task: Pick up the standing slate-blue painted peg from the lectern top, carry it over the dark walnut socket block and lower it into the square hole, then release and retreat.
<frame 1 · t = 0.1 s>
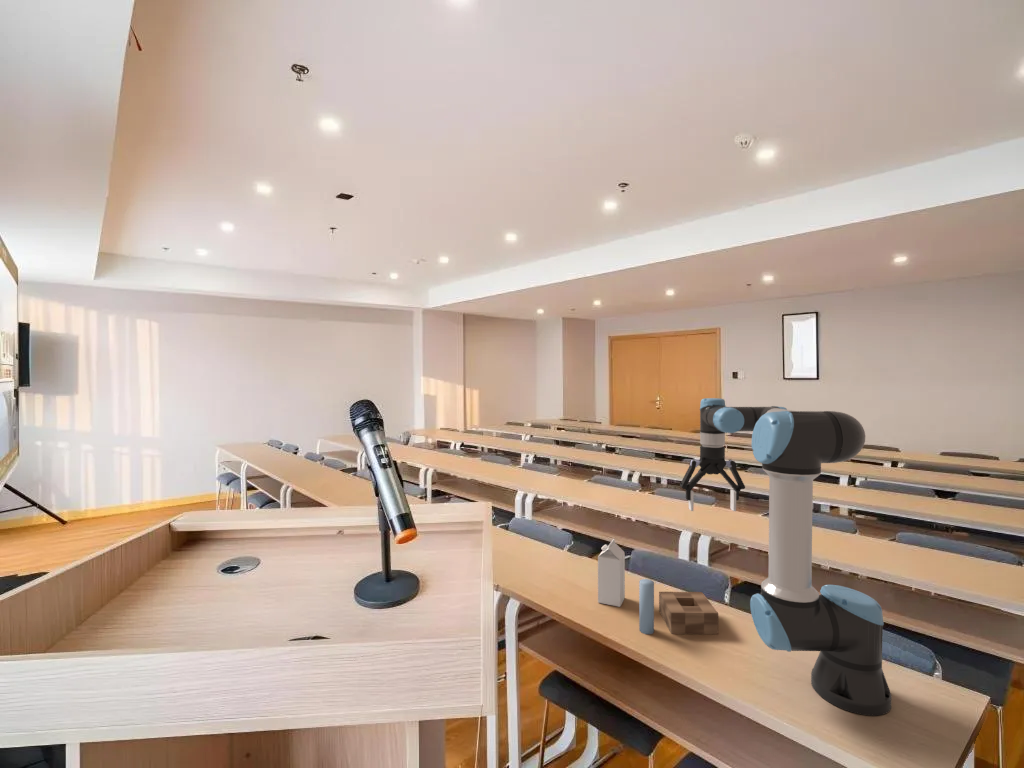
hand: (712, 510, 161), 28 cm above the table, fingers open, 13 cm apart
milk carton: (611, 601, 158), on the table
peg: (646, 630, 140), on the table
socket block: (687, 622, 145), on the table
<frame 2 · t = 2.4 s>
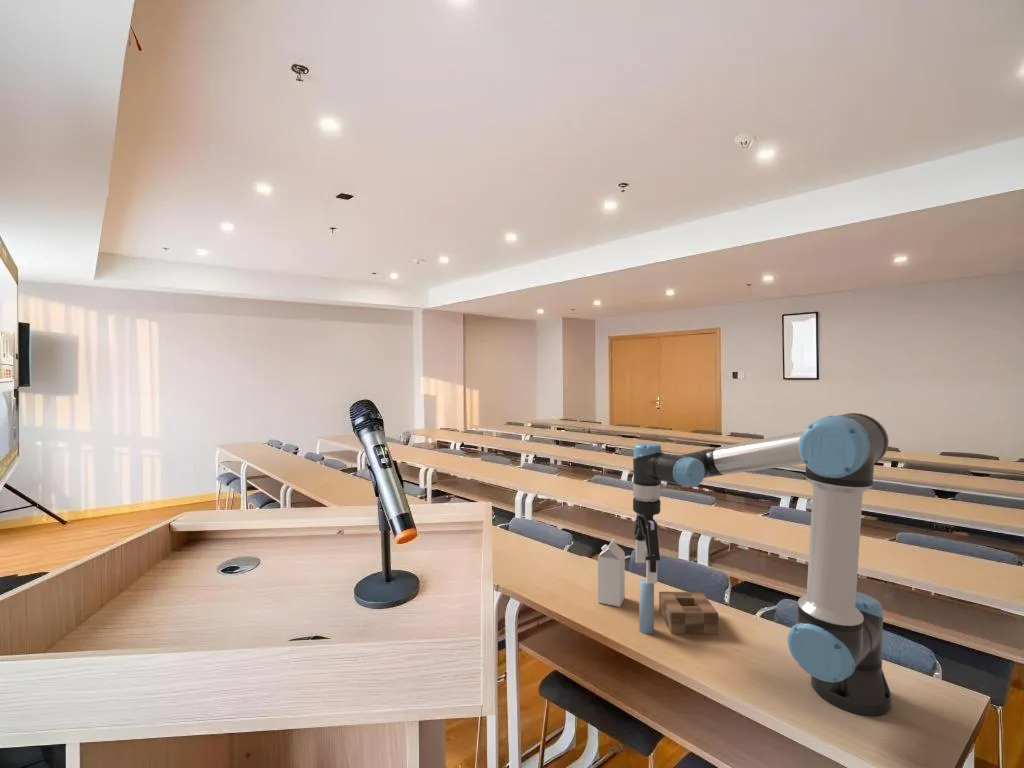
hand: (645, 572, 140), 17 cm above the table, fingers open, 13 cm apart
nothing on the table moved.
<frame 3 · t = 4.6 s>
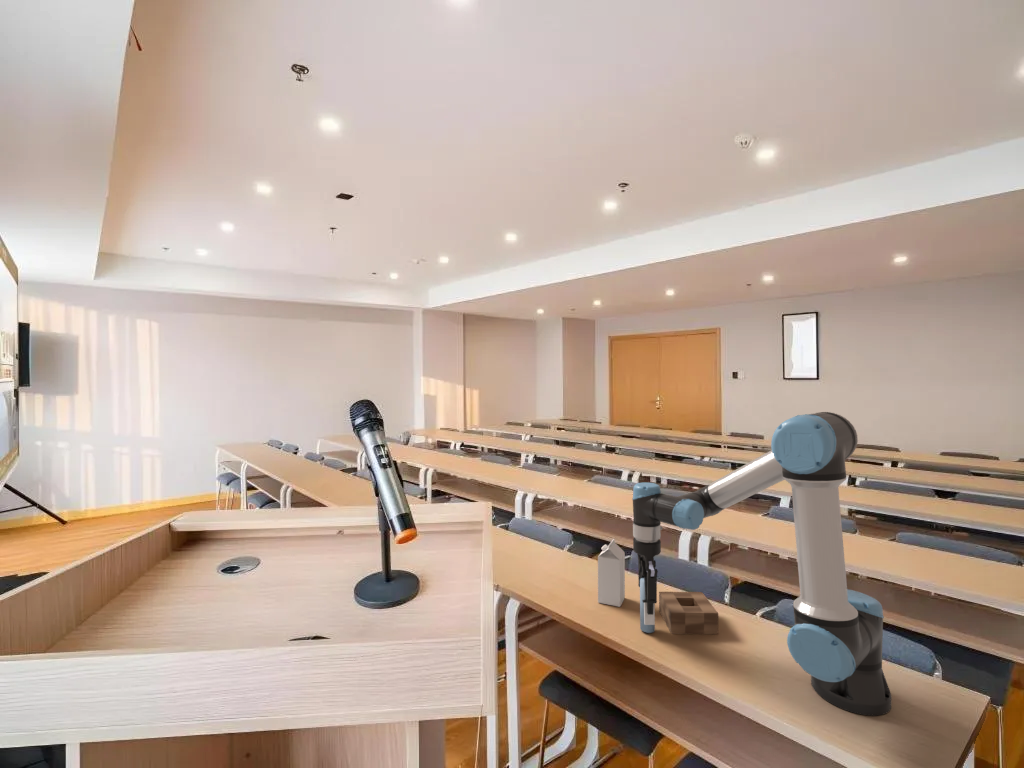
hand: (647, 619, 140), 3 cm above the table, fingers closed on peg, 4 cm apart
peg: (647, 629, 140), point 1 cm above the table, touching gripper
everything else where it was.
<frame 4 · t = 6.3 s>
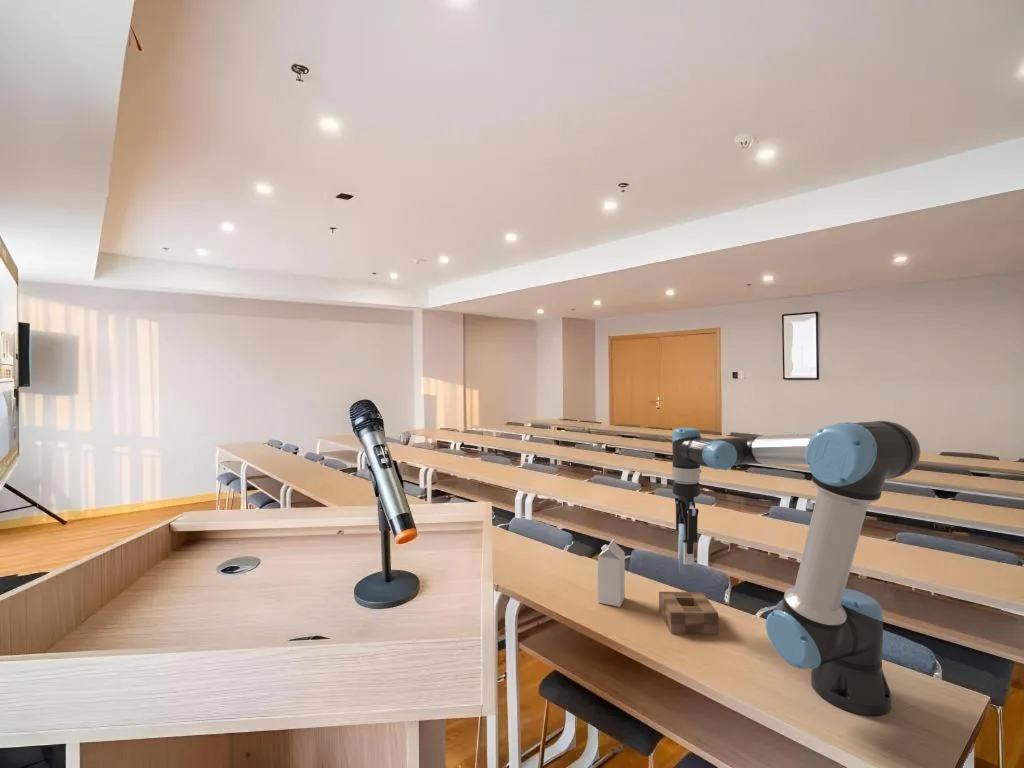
hand: (686, 560, 144), 18 cm above the table, fingers closed on peg, 4 cm apart
peg: (686, 572, 144), point 15 cm above the table, touching gripper
everything else where it was.
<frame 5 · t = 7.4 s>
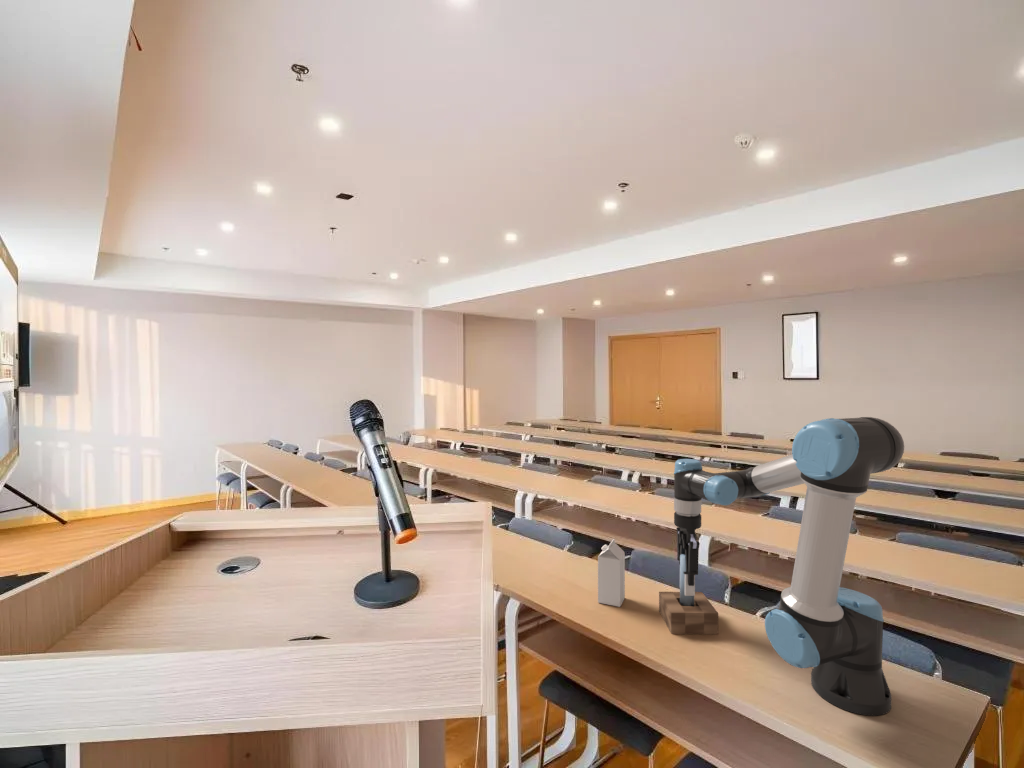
hand: (687, 591, 145), 9 cm above the table, fingers closed on peg, 4 cm apart
peg: (687, 603, 145), point 5 cm above the table, touching gripper
everything else where it was.
when the fingers open (7 cm above the table, at t = 8.3 s): peg drops 3 cm, resting in socket block.
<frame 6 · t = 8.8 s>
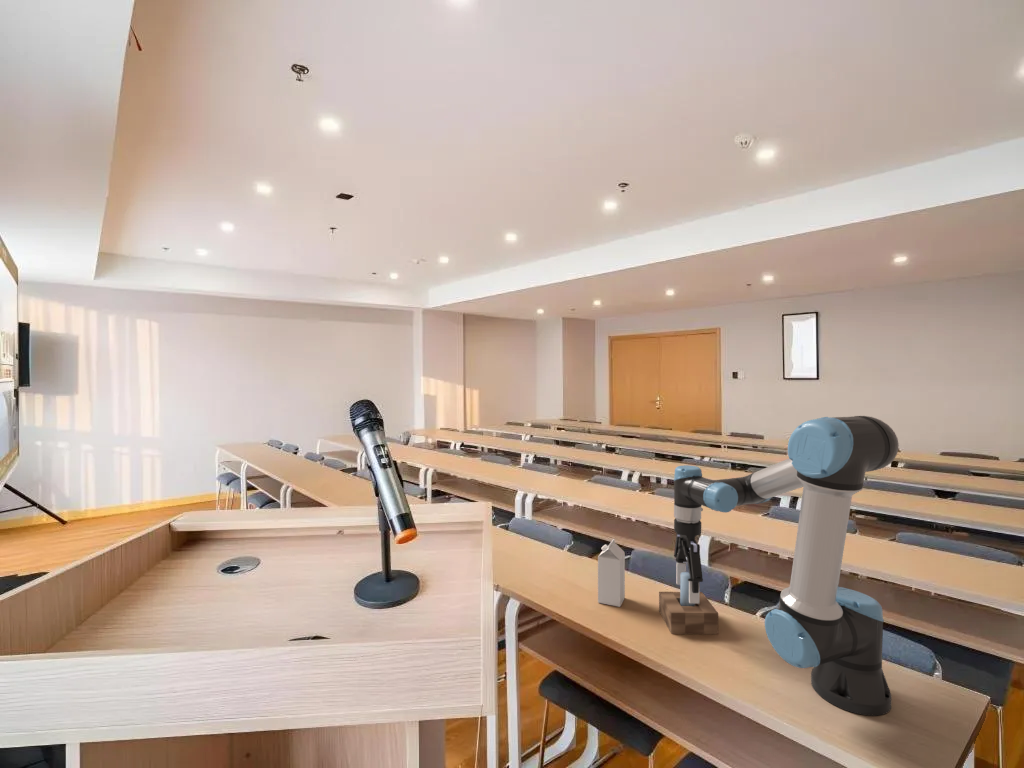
hand: (687, 593, 144), 9 cm above the table, fingers open, 11 cm apart
peg: (687, 621, 145), resting in socket block
everything else where it was.
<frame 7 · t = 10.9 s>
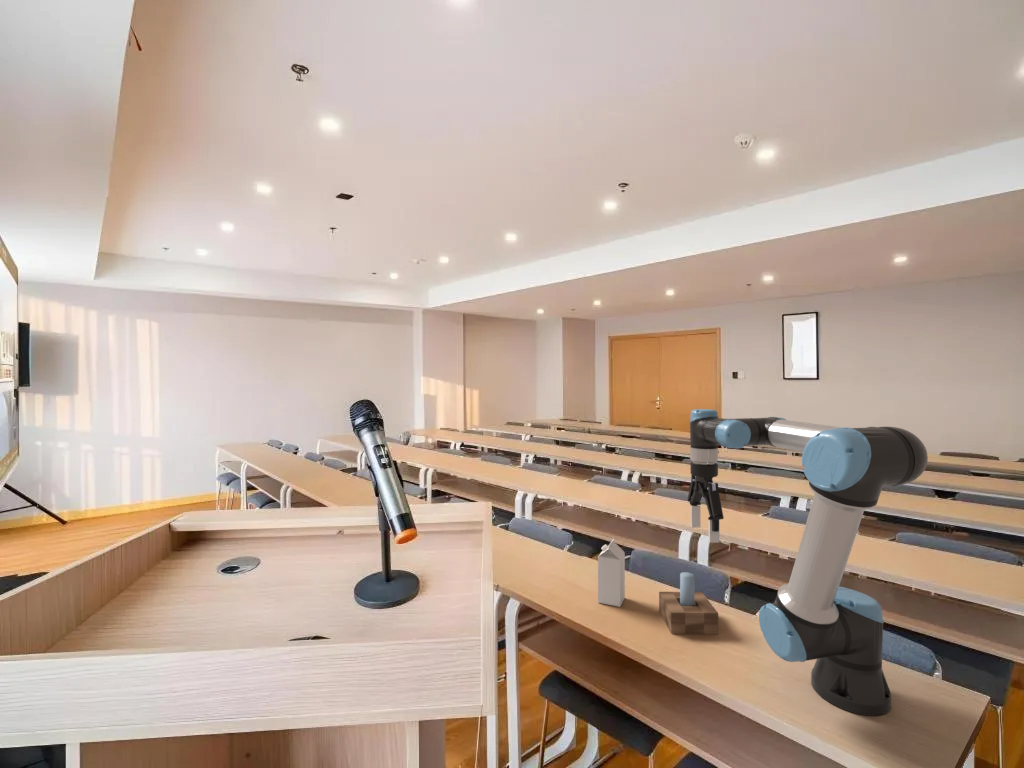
hand: (704, 534, 144), 26 cm above the table, fingers open, 13 cm apart
nothing on the table moved.
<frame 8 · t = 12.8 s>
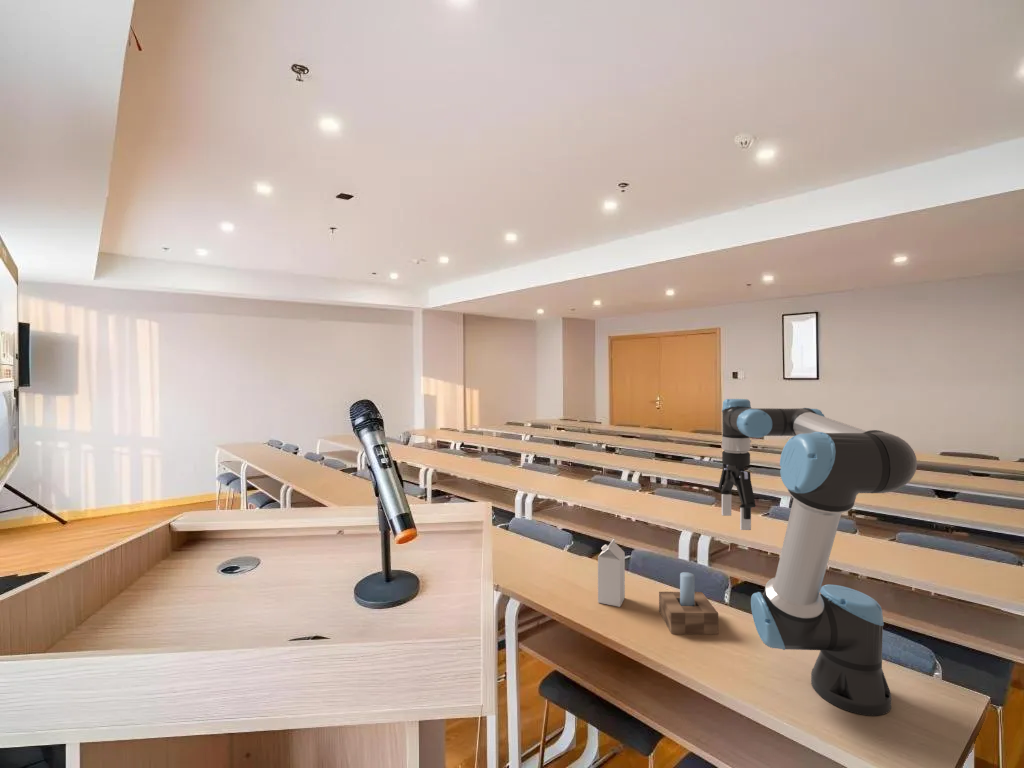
hand: (735, 522, 146), 29 cm above the table, fingers open, 13 cm apart
nothing on the table moved.
at the end: peg 0.0 cm off-centre on the socket block, point 0.0 cm above the socket block's base; peg tilted 0°; the gripper is holding nothing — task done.
